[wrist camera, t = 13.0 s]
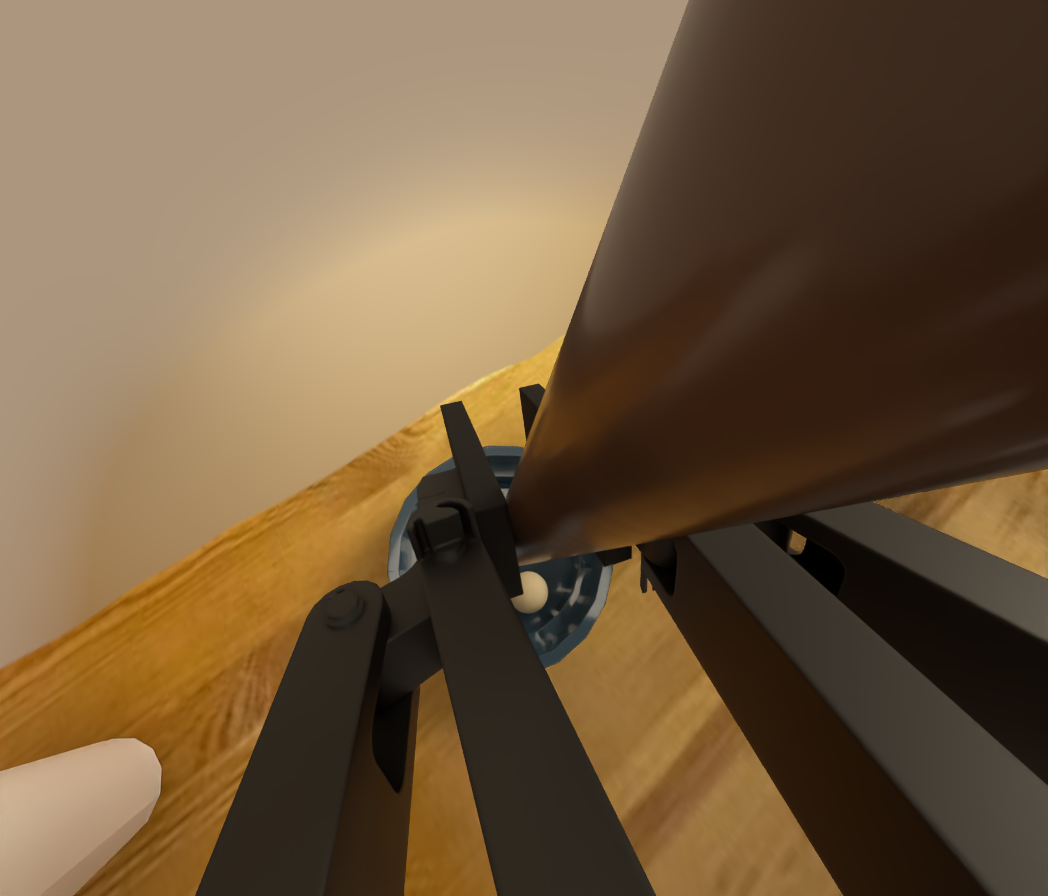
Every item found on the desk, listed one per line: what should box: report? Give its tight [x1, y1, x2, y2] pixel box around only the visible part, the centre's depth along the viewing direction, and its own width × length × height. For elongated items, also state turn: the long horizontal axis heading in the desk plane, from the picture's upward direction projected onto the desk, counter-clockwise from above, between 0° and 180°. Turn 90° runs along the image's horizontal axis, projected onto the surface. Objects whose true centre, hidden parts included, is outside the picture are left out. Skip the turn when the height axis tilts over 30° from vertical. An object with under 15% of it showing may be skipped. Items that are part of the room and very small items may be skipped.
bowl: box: [387, 446, 613, 668], centre depth 29 cm, size 16×16×6 cm
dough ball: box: [511, 571, 548, 614], centre depth 29 cm, size 3×3×3 cm
